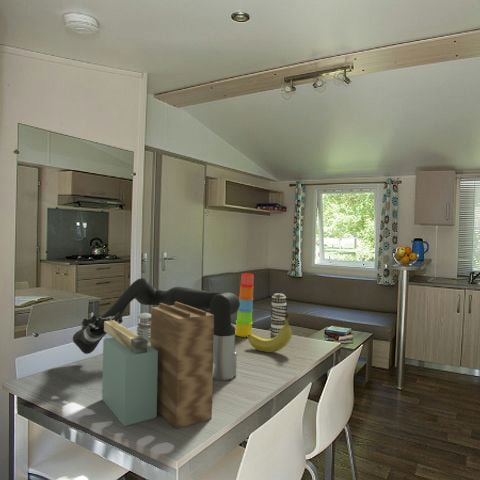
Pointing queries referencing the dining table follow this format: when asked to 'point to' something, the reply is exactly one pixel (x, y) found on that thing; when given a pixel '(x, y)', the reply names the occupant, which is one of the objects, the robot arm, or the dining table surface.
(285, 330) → the banana
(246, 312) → the stacking cups
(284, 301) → the decorative candle
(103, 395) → the pale teal block
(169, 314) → the tall wooden block
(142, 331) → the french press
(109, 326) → the pale wooden beam
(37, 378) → the dining table surface
